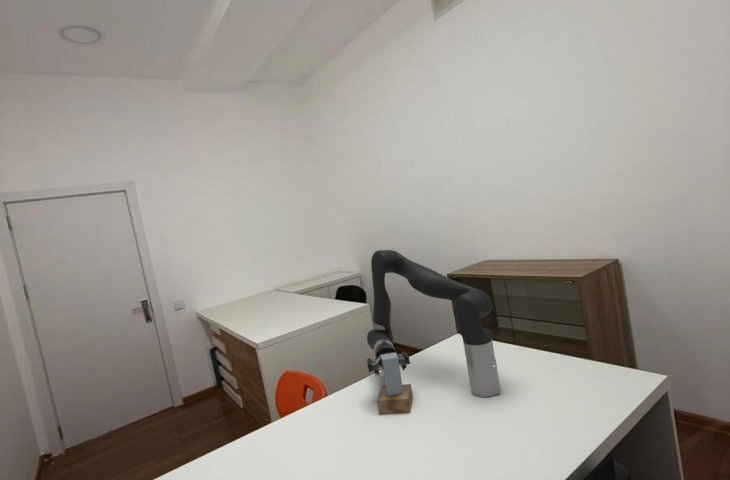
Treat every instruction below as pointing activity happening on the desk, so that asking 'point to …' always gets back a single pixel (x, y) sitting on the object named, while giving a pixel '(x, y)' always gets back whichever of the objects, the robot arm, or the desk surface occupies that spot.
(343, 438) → the desk surface
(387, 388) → the slate pillar
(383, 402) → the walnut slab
